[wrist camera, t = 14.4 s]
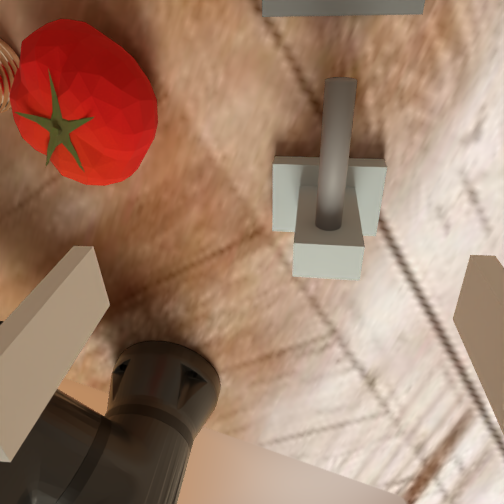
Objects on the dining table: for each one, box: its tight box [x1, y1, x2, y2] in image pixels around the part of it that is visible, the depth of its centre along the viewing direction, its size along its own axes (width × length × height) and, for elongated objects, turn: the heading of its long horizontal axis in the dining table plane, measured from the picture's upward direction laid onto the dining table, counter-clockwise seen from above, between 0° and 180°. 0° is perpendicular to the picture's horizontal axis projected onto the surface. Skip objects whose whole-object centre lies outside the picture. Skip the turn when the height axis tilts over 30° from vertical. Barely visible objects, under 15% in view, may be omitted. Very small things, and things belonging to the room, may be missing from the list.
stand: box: [272, 77, 387, 281], centre depth 33 cm, size 16×10×12 cm, turn 2°
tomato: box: [9, 19, 158, 186], centre depth 34 cm, size 11×13×10 cm
